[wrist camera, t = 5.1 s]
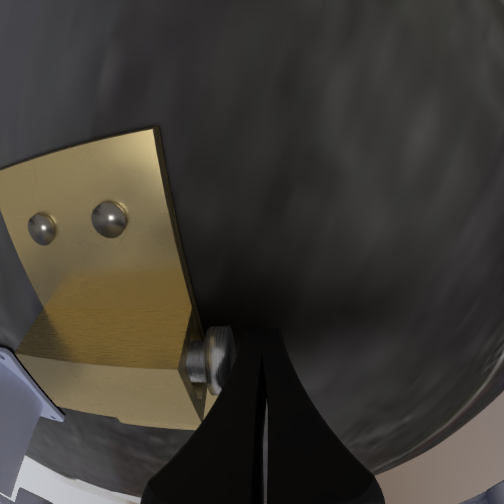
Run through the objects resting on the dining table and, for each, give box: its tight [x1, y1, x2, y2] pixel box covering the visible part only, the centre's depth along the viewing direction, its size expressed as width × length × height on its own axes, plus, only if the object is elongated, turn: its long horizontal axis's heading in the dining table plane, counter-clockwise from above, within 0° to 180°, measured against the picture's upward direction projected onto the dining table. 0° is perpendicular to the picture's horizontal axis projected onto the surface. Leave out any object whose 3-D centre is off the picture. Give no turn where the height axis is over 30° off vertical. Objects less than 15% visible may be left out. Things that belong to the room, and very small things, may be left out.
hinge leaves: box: [0, 126, 218, 430], centre depth 11 cm, size 7×16×3 cm, turn 5°
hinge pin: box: [185, 326, 236, 396], centre depth 11 cm, size 9×3×3 cm, turn 95°
